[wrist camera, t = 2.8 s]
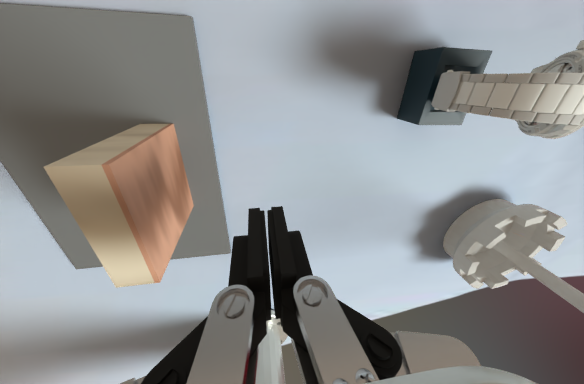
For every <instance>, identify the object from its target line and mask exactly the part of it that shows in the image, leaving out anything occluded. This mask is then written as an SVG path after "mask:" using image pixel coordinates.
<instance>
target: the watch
mask: <svg viewBox="0 0 584 384" xmlns="http://www.w3.org/2000/svg"><path fill="white" fill-rule="evenodd" d="M576 49H578V50H575V51H571V52H568V53H566V54H563V55H561V56H559V57H558V58H556V59H555V60H554V61H552V62H550V63H549V64H546V65H543V66H540V67H537V68H535V69H533V70H532V72H531V73H524V74H509V75H508V74H483V72H484V70H485V67H486V65H487V63H488V60H489V58H490V55H491V53H492V51H488V50H474V49H460V48H446V47H442V48H435V49H428V50H421V51H415V53H414V57H413V60H412V64H411V68H410V71H409V75H408V79H407V83H406V86H405V90H404V94H403V98H402V101H401V105H400V109H399V112H398V116H397V119H401V120H404V121H407V122H411V123H414V124H417V125H462V122H463V120H464V118H465V115H466V113H473V114H480V115H486V116H488V115H489V114H490V115H489V116H493V117H500V118H507V119H513V120H515V121H517V123H518V125H519V129H520V130H521V131H522V132H523V133H525V134H527V135H531V136H541V137H543V138H549V139H556V138H561V137H564V136H567V135H569V134H571V133H573V132H575V131H577V130H578V129H580V128H581V127H582V126H584V40H582V41H580V43H579V45H578V46H577V48H576ZM504 82H505V83H504ZM492 108H493V109H492ZM491 110H492V111H491ZM490 112H491V113H490Z"/></svg>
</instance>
